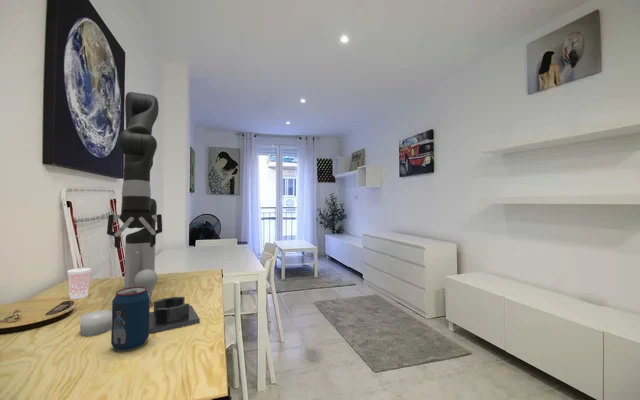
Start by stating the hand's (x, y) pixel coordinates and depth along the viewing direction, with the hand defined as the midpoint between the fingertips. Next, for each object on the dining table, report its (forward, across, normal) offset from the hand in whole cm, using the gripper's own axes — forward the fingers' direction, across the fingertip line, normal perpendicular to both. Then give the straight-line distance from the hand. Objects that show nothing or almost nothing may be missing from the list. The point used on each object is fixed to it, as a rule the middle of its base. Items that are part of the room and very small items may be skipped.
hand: (135, 248), depth 87 cm
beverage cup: (+16, +15, -21) cm, 30 cm away
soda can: (+20, +1, +27) cm, 34 cm away
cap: (+19, +8, +14) cm, 25 cm away
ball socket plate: (+19, -8, +18) cm, 27 cm away
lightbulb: (+18, -3, 0) cm, 18 cm away
